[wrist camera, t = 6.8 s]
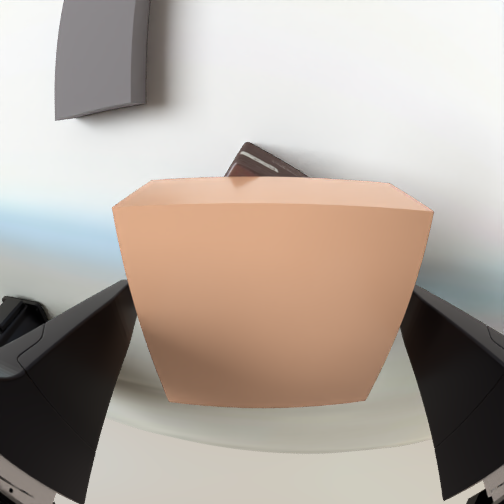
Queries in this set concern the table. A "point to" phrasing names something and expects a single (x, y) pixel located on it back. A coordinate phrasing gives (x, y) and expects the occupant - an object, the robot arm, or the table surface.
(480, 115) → the table surface
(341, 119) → the table surface
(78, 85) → the block
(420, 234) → the tile
